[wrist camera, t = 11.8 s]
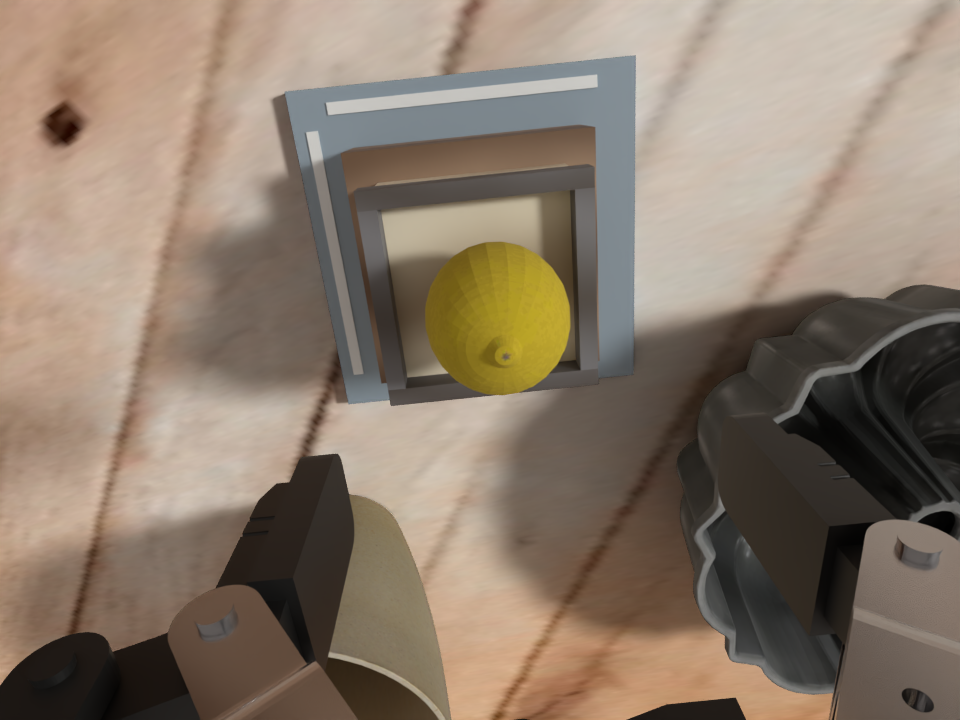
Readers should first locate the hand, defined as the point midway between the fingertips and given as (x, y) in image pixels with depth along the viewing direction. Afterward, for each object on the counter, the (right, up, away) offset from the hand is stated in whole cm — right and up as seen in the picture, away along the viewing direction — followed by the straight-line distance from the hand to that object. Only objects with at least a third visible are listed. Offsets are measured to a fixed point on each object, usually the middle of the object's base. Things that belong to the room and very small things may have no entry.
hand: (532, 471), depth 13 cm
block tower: (-1, +9, +22) cm, 24 cm away
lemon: (-1, +6, +14) cm, 15 cm away
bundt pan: (+23, -3, +29) cm, 37 cm away
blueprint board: (-1, +9, +22) cm, 24 cm away
